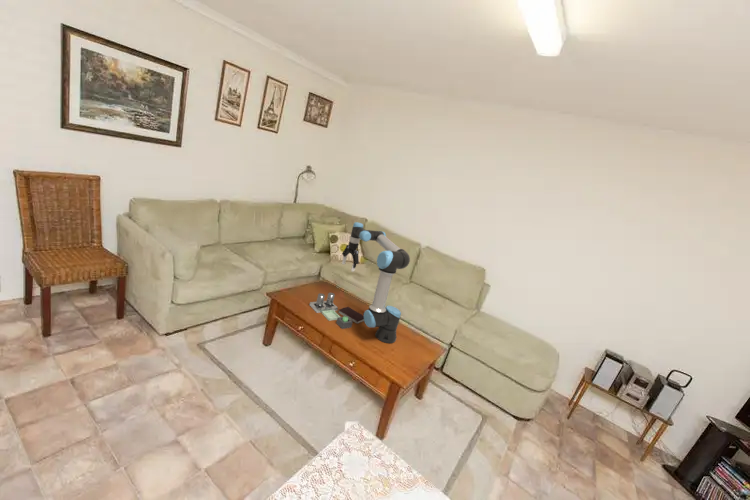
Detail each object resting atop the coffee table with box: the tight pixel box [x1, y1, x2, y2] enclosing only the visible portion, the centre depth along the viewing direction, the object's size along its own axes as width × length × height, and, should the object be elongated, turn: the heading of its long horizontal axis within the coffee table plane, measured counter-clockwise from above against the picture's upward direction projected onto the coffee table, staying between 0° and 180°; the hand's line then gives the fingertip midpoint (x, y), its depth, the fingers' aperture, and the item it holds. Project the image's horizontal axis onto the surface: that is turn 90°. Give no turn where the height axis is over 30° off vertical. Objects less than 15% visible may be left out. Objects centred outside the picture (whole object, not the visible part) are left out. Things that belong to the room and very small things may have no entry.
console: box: [335, 316, 354, 330], centre depth 250 cm, size 8×8×5 cm
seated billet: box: [325, 292, 336, 307], centre depth 269 cm, size 5×5×12 cm
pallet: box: [309, 300, 339, 314], centre depth 267 cm, size 12×18×3 cm, turn 128°
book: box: [337, 306, 365, 324], centre depth 267 cm, size 12×19×3 cm, turn 56°
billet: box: [315, 292, 326, 308], centre depth 263 cm, size 5×5×12 cm
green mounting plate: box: [321, 310, 341, 322], centre depth 258 cm, size 11×10×2 cm
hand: (347, 267), depth 273 cm, fingers open, 13 cm apart
